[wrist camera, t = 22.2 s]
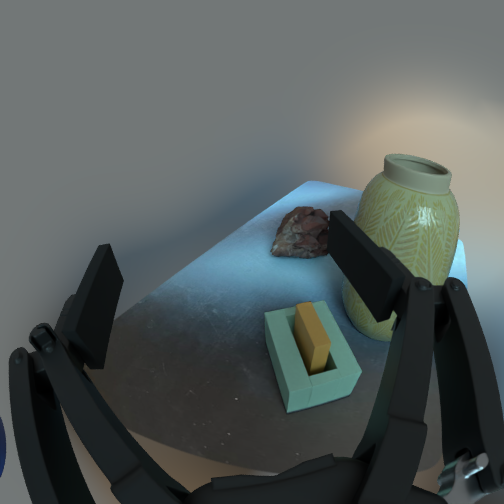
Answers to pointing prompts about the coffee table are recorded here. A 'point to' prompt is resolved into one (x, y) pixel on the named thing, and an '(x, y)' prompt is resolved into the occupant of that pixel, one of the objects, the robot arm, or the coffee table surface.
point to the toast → (311, 338)
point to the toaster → (292, 367)
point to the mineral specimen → (302, 234)
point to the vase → (406, 228)
